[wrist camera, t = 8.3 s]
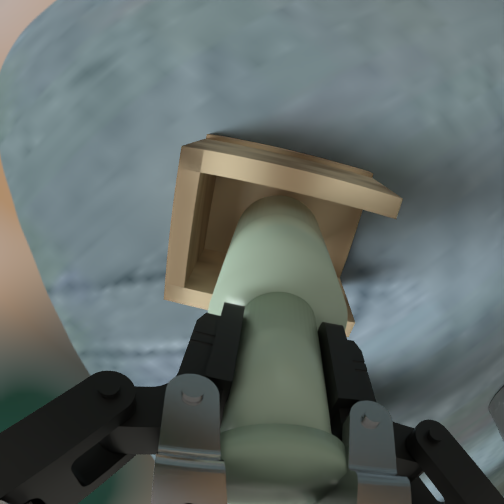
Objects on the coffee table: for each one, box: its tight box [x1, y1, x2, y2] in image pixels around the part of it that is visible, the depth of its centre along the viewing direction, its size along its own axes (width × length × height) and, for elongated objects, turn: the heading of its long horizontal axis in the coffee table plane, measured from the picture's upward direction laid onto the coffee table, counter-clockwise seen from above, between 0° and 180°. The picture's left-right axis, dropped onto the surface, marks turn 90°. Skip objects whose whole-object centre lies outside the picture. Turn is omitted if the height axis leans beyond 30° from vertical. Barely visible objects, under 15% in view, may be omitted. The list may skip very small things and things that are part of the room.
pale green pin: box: [208, 195, 348, 504], centre depth 13 cm, size 5×5×16 cm
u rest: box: [164, 134, 403, 337], centre depth 21 cm, size 12×10×7 cm
